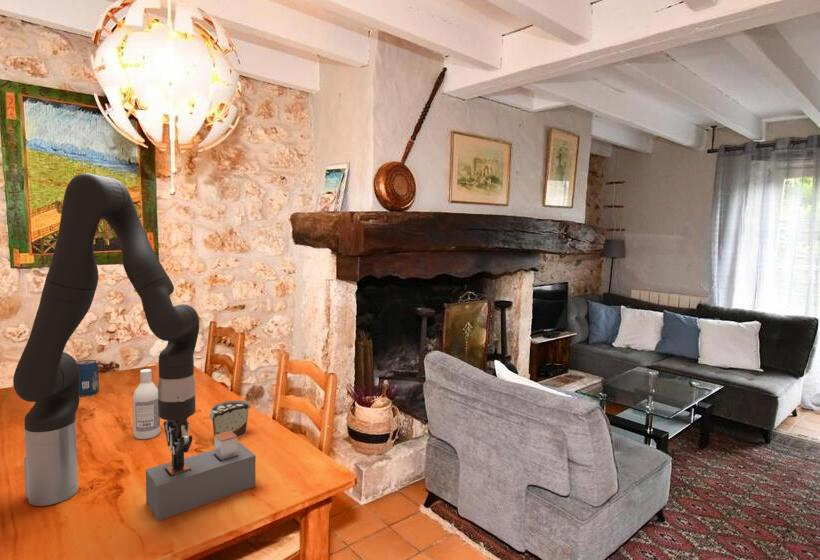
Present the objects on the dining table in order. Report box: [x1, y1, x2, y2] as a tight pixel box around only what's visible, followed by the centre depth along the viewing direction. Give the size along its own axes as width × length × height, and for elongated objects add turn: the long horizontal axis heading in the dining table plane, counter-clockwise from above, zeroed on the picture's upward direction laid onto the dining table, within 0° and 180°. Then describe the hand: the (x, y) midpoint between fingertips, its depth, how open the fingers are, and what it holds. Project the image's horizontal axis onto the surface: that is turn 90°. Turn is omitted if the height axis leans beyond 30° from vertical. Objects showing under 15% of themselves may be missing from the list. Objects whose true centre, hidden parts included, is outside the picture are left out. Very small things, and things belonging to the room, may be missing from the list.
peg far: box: [213, 431, 238, 462], centre depth 115 cm, size 4×4×8 cm
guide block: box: [145, 442, 257, 522], centre depth 112 cm, size 22×9×8 cm, turn 133°
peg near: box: [166, 462, 190, 477], centre depth 108 cm, size 4×4×8 cm
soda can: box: [76, 359, 100, 397], centre depth 171 cm, size 7×7×12 cm
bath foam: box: [132, 368, 161, 440], centre depth 140 cm, size 7×7×20 cm
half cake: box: [209, 400, 251, 438], centre depth 142 cm, size 12×6×10 cm, turn 141°
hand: (178, 467), depth 107 cm, fingers closed
